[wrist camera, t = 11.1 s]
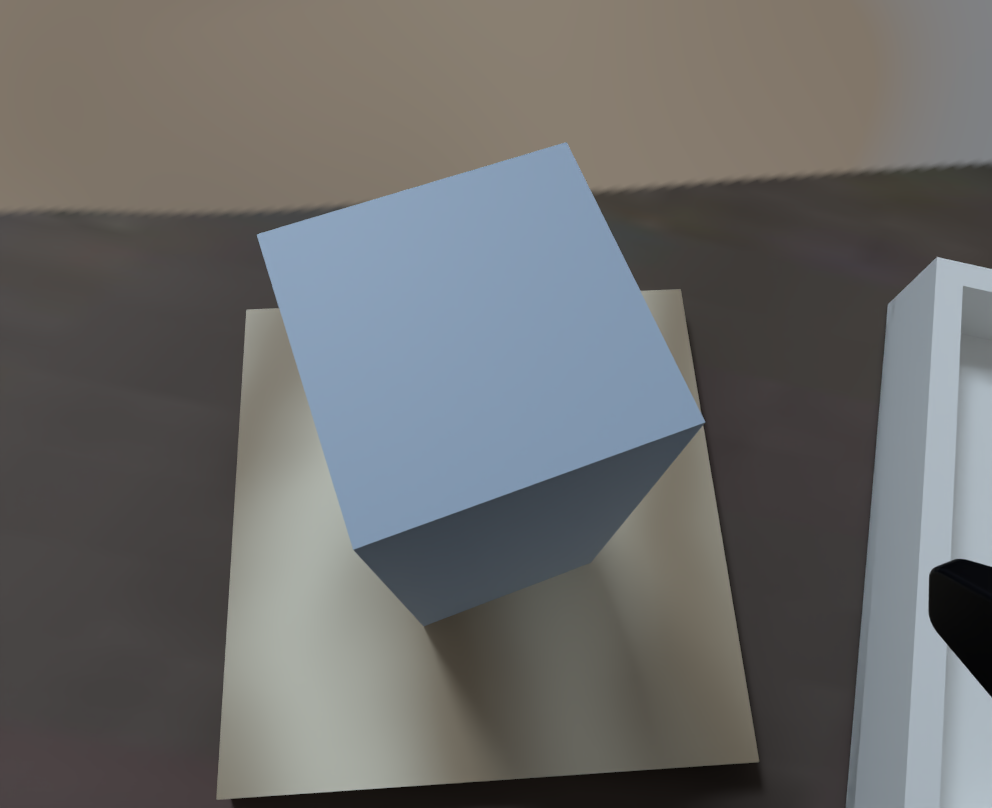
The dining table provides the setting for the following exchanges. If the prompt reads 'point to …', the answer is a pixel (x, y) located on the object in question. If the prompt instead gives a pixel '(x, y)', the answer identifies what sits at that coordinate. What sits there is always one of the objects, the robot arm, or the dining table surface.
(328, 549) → the board
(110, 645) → the dining table surface
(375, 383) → the carton
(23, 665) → the dining table surface
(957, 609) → the robot arm
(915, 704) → the tray
